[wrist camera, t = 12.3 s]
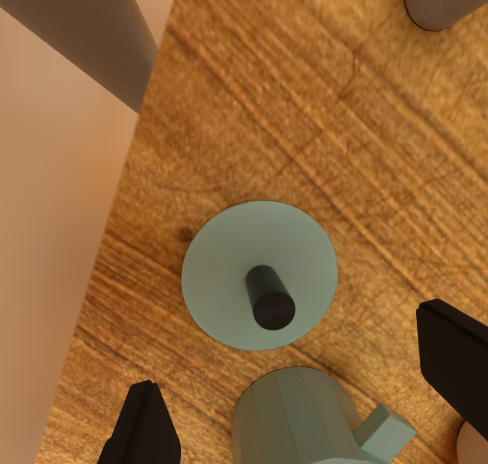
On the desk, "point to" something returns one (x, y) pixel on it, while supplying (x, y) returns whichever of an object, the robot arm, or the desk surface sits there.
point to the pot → (312, 423)
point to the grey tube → (441, 12)
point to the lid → (259, 275)
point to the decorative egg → (471, 446)
